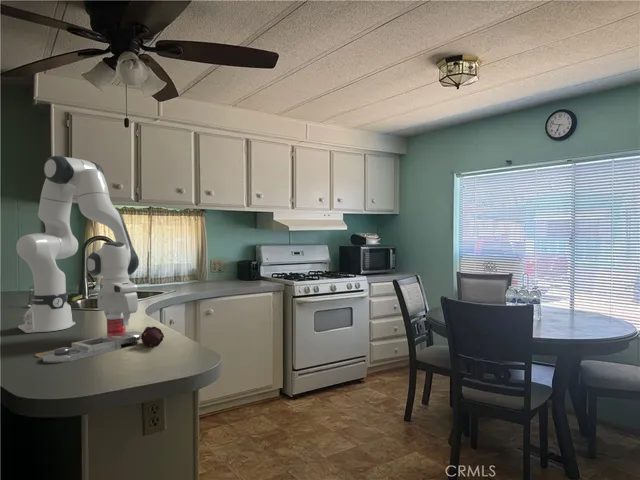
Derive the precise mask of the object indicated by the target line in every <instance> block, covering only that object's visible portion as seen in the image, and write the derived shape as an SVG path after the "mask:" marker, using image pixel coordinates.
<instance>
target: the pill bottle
mask: <svg viewBox="0 0 640 480" xmlns="http://www.w3.org/2000/svg"><path fill="white" fill-rule="evenodd" d="M109 313H110V314H109V315H108V316H107V318H106V336H107V335H112V334H117V333H122V332H127V331H126V325H125V326H124V325H122V320H123V317H124V316H123V313H118V312H115V310H114V309H109Z"/></svg>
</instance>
